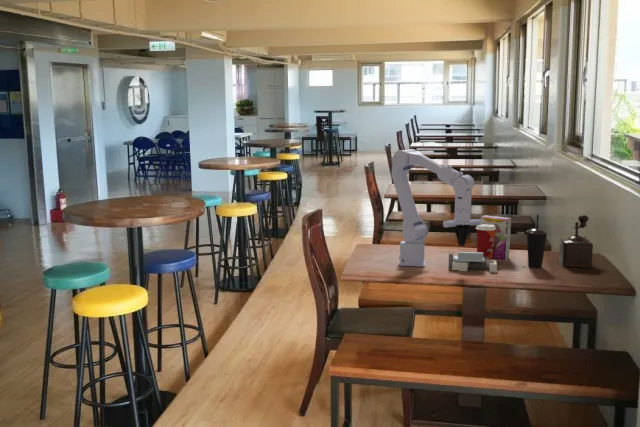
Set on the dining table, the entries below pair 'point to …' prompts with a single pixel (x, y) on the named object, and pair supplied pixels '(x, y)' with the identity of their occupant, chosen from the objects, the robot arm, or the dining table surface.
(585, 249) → the manual coffee grinder
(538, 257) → the drinking cup
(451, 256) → the pale grey rectangular block
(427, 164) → the robot arm
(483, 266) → the gray tin can
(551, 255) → the dining table surface
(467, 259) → the cover
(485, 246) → the paper cup
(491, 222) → the candy bar box
